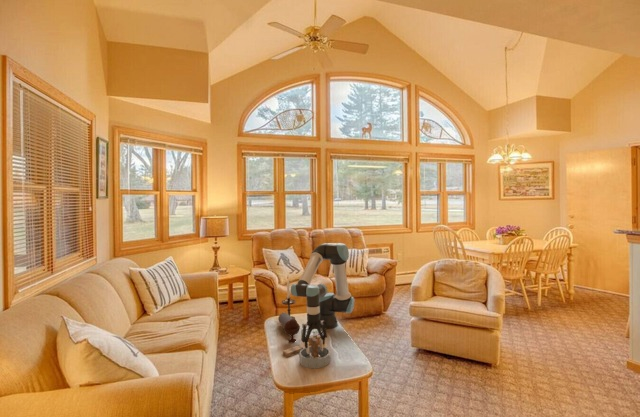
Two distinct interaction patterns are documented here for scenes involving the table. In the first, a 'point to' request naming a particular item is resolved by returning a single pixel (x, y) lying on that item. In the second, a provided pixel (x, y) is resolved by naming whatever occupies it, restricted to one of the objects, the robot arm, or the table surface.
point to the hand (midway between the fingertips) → (314, 351)
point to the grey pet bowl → (312, 362)
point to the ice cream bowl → (291, 329)
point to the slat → (292, 351)
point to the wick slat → (314, 347)
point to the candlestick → (288, 300)
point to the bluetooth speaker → (284, 319)
